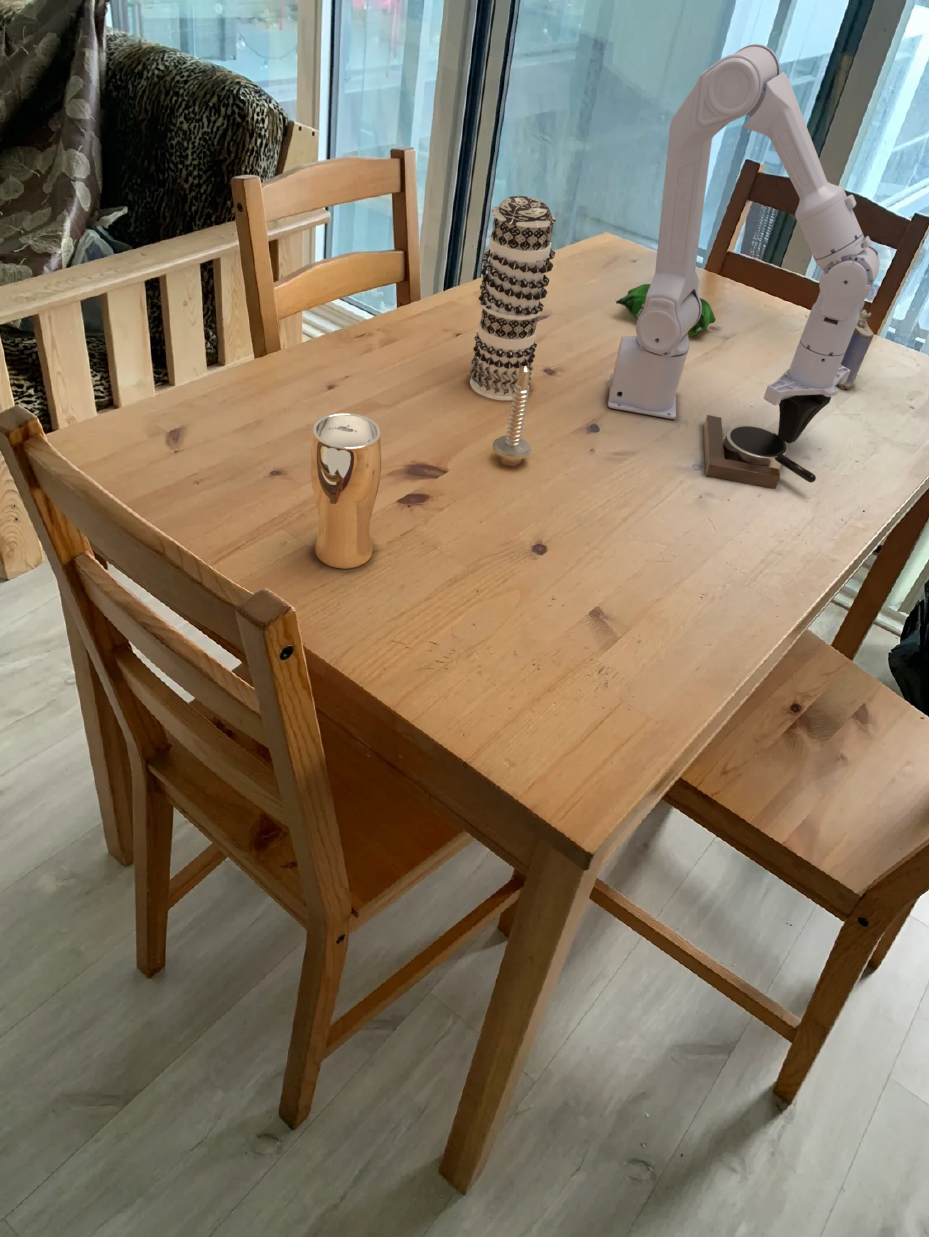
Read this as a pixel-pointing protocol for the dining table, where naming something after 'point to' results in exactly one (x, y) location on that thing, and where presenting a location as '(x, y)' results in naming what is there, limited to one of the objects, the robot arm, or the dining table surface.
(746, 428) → the steel pan
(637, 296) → the snack package
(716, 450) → the corner stop
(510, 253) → the decorative candle
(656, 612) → the dining table surface
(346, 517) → the beer glass
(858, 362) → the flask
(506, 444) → the screw
